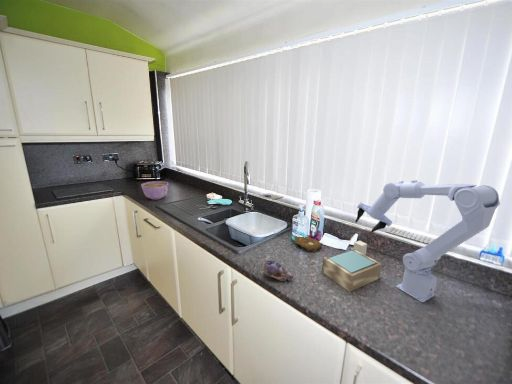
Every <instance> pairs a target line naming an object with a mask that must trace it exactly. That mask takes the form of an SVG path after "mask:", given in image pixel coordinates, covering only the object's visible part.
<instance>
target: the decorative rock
mask: <svg viewBox="0 0 512 384" xmlns="http://www.w3.org/2000/svg"><path fill="white" fill-rule="evenodd" d="M294 243H295V244H296V245H298V246H300V248H304V249H305V250H306V251H307V252H314V253H317V252H318V251H319V250H320V249H321V248H322V245H323V242H320V241H319V240H318V239H315V238H311V237H310V236H309V237H308V236H307V237H305V238H304V237H297V236H296V235H294Z"/></svg>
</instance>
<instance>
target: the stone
mask: <svg viewBox="0 0 512 384" xmlns="http://www.w3.org/2000/svg"><path fill="white" fill-rule="evenodd" d="M367 247H368V243H366V242H364V241H362V240H358V241H355V242H354V243H353V247H352V248H353V249H355V250H357V251H359V252H360V253H362V254H364V255H366V256H367V254H366V253H367V249H368V248H367Z"/></svg>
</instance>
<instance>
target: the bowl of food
mask: <svg viewBox="0 0 512 384" xmlns="http://www.w3.org/2000/svg"><path fill="white" fill-rule="evenodd" d="M140 186H141V189H142V192H143V194H144V196H145V197H146V198H147V199H149V200H150V199H151V200H153V201H154V200H155V201H156V200H160V199H163V198H164V197H166V195H168V191H169V182H168V181H165V180H164V181H162V180H156V181H147V182H144V183H141V184H140Z"/></svg>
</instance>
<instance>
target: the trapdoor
mask: <svg viewBox="0 0 512 384" xmlns="http://www.w3.org/2000/svg"><path fill="white" fill-rule="evenodd" d="M329 259H330V260H331V261H333V262H334V263H336V264H337V265H339V266H341V267H342V268H344V269H345V270H347V271H348V272H350V273H352V274H353V273H356V272H358V271H360V270H363V269H365V268H368V267H370V266H373V265H375V262H373V261H371V260H369V259H367V258H366V257H364V256H362V255H360V254H358V253H356V252H354V251H353V250H352V251H350V250H349V251H346V252H343V253H339V254H337V255H334V256H332V257H329Z"/></svg>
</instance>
